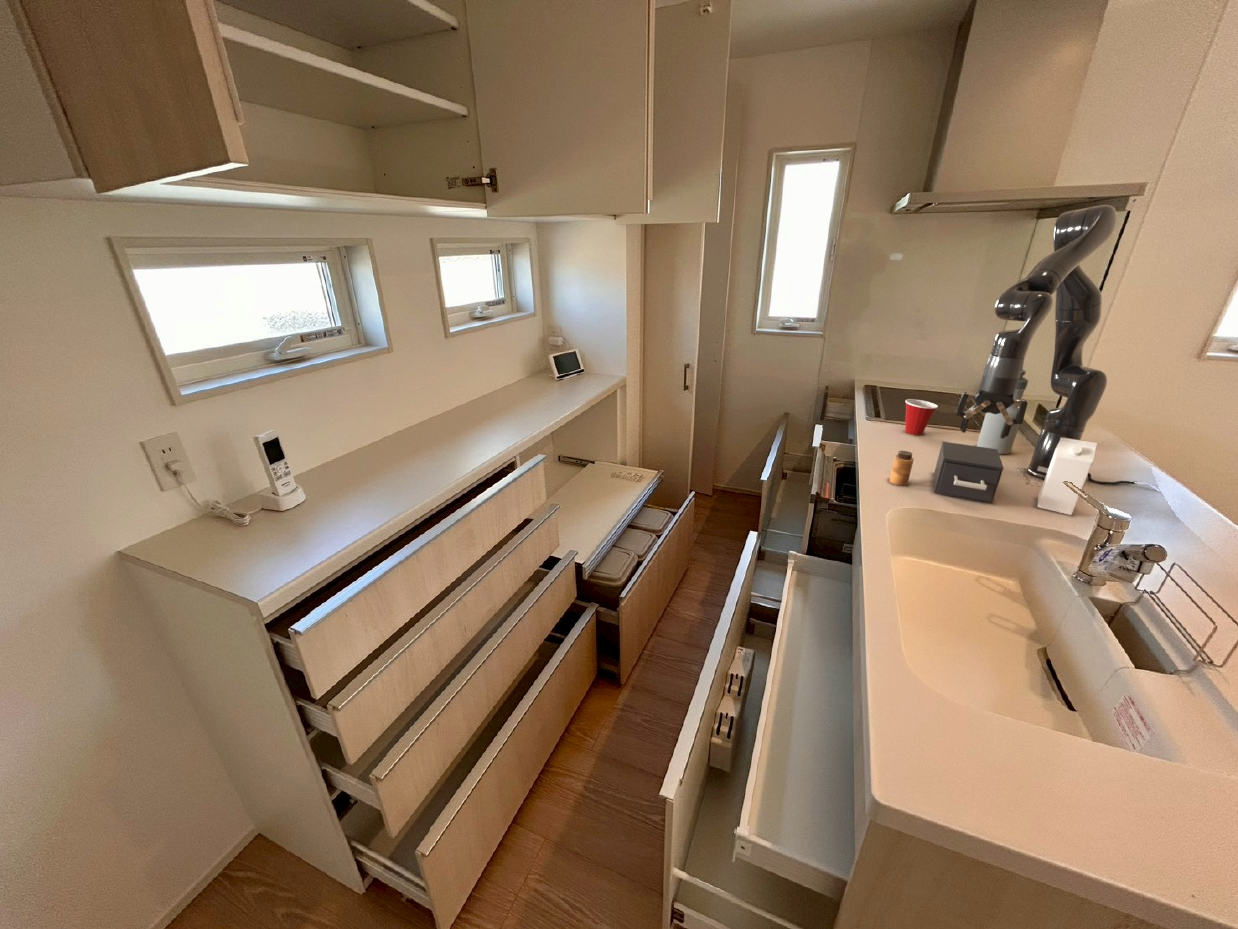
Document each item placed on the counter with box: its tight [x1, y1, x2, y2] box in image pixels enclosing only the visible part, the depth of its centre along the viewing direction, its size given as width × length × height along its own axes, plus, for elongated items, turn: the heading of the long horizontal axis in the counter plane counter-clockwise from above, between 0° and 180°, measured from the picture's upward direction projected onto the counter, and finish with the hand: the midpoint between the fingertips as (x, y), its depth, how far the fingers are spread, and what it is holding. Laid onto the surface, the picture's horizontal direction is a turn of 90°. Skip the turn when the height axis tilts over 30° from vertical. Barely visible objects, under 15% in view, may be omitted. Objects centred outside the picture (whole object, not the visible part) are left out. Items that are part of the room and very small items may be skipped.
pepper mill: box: [889, 450, 915, 487], centre depth 146 cm, size 5×5×10 cm
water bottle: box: [976, 368, 1029, 455], centre depth 167 cm, size 10×10×28 cm
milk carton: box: [1037, 437, 1098, 516], centre depth 130 cm, size 7×7×19 cm
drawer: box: [938, 462, 1000, 502], centre depth 139 cm, size 20×12×9 cm, turn 150°
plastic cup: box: [904, 398, 939, 436], centre depth 187 cm, size 11×11×12 cm
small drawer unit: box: [933, 441, 1004, 504], centre depth 143 cm, size 16×14×11 cm
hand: (982, 434), depth 131 cm, fingers open, 8 cm apart
